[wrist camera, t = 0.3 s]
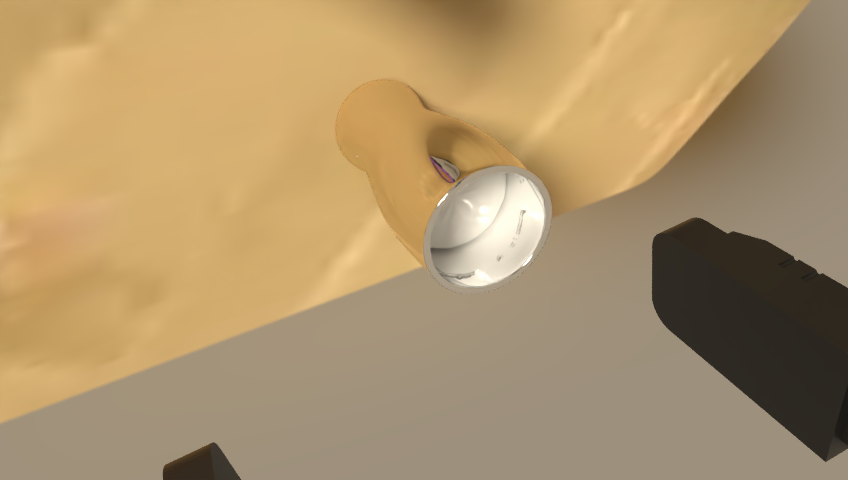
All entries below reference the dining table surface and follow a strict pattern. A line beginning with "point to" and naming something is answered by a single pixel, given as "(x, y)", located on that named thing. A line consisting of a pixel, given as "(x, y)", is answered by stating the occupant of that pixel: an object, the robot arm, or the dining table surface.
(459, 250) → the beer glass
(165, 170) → the dining table surface
